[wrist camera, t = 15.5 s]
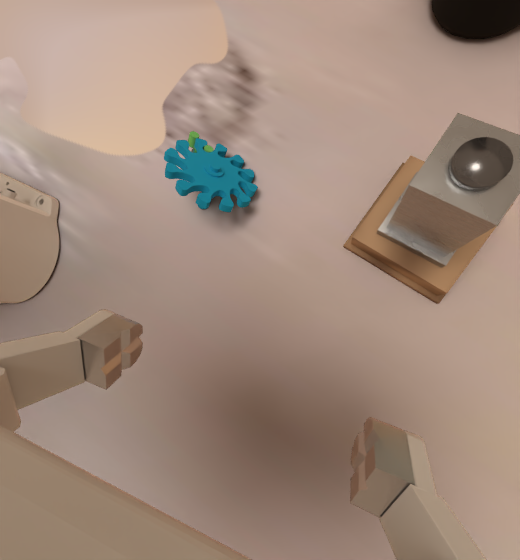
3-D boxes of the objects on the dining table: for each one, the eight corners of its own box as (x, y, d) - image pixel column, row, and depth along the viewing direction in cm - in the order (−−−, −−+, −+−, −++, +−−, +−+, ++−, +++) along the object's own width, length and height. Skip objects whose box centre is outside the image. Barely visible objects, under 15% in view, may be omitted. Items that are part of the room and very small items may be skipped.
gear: (273, 202, 30) (180, 201, 25) (252, 237, 34) (169, 242, 29) (238, 133, 34) (152, 119, 29) (223, 172, 38) (147, 166, 33)
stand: (343, 246, 29) (344, 238, 26) (401, 165, 28) (408, 148, 26) (436, 303, 26) (449, 301, 23) (502, 214, 26) (523, 201, 23)
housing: (376, 233, 25) (398, 183, 16) (414, 177, 25) (458, 94, 16) (441, 267, 24) (508, 234, 14) (482, 207, 23) (577, 135, 14)
